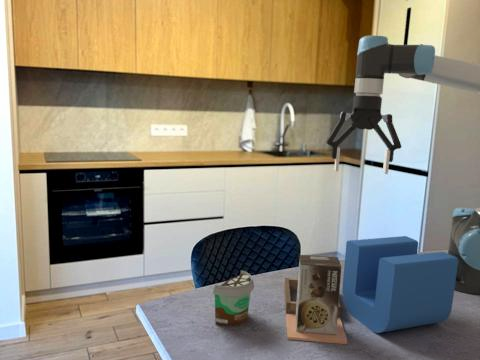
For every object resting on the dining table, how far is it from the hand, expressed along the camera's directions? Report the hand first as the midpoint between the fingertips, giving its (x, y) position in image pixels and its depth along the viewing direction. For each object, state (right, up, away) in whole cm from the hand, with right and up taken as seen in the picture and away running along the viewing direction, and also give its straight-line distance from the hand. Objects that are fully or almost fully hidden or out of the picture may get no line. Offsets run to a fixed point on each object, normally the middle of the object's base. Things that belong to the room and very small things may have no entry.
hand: (360, 172), depth 129 cm
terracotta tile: (-17, -37, -23) cm, 47 cm away
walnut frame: (-16, -34, -9) cm, 39 cm away
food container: (-35, -35, -21) cm, 54 cm away
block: (+4, -37, -16) cm, 40 cm away
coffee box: (-17, -36, -24) cm, 46 cm away
